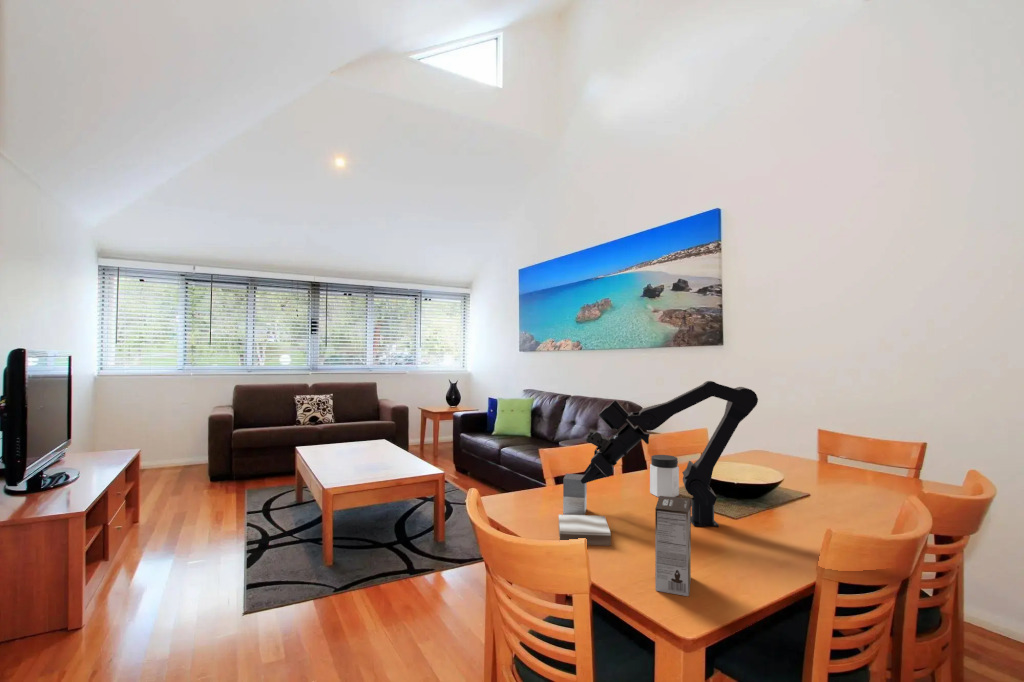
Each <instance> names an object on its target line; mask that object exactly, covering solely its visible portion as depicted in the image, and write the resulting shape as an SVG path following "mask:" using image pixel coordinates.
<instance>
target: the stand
mask: <svg viewBox="0 0 1024 682" xmlns="http://www.w3.org/2000/svg"><path fill="white" fill-rule="evenodd" d="M558 535H559V537H560V538H559V541H560V540H569V539H578V538H586V539H587V544H588V545H587V546H604V547H605V546H606V547H607V546H611V545H612V544H611V543H612V539H611V538H612V537H611V536H612V533H611V529H610V528H609V524H608V522H607V519H606V516H605V515H591V514H589V515H586V514H585V515H567V514H559V513H558Z"/></svg>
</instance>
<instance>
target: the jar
mask: <svg viewBox="0 0 1024 682" xmlns="http://www.w3.org/2000/svg"><path fill="white" fill-rule="evenodd" d="M650 458H651V462H650V464H649V493H650V494H652V495H654V496H655V497H657V498H659V496H668V497H678V496H680V466H679V465H678V462H679V461H678V457H676V456H673V455H671V454H670V455H669V454H654V455H651V457H650Z"/></svg>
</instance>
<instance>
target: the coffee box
mask: <svg viewBox="0 0 1024 682" xmlns="http://www.w3.org/2000/svg"><path fill="white" fill-rule="evenodd" d="M691 516H692V498H687V497H678V496H676V497H668V496H659V497H658V500H657V503H656V506H655V516H654V517H655V521H654V522H655V525H654V526H655V528H654V529H655V542H654V543H655V561H654V562H655V564H654V565H655V569H654V570H655V578H654V579H655V580H654V581H655V585H654V586H655V588H654V589H655V591H656V592H661V593H665V594H667V593H668V594H672V595H673V594H674V595H678V596H684V597H689V596H690V592H691V591H690V588H691V579H692V578H691V576H692V575H691V571H692V569H691V567H692V566H691V561H692V557H691V556H692V555H691V554H692V541H691V540H692V533H691V532H692V531H691V530H692V523H691Z"/></svg>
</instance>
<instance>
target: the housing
mask: <svg viewBox="0 0 1024 682" xmlns="http://www.w3.org/2000/svg"><path fill="white" fill-rule="evenodd" d="M584 475H585V474H578V473H577V474H576V473H565V475H564V477H563V481H562V483H563V484H562V485H563V492H562V493H563V497H562V501H563V502H562V503H563V506H562V512H563V514H562V515H586V511H587V509H588V508H587V505H588V504H587V492H588V491H587V489H588V487H587V485H588V484H587V483H588V482H587V483H584V484H583V483H582V482H581V479H582V478H583V476H584Z"/></svg>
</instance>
